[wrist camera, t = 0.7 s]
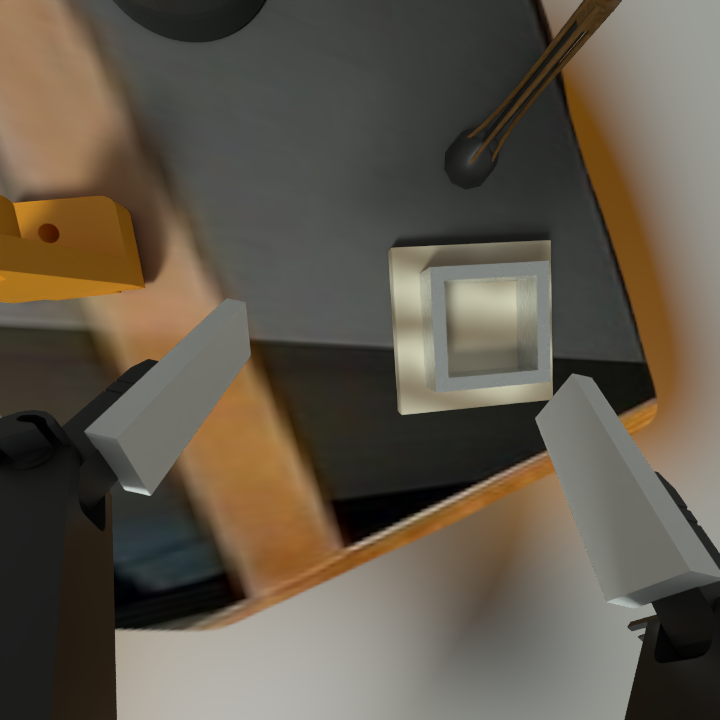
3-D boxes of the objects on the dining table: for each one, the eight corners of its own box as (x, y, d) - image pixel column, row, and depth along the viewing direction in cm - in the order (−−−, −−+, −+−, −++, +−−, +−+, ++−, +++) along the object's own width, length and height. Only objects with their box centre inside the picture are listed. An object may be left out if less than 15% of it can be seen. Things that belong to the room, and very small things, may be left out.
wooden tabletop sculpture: (439, 195, 30) (662, -80, 10) (429, 146, 29) (641, -246, 9) (495, 182, 30) (813, -106, 10) (485, 134, 30) (800, -266, 10)
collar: (419, 274, 29) (429, 267, 26) (526, 268, 30) (548, 260, 27) (425, 386, 30) (436, 392, 27) (529, 377, 31) (550, 381, 28)
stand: (388, 252, 30) (391, 247, 28) (539, 244, 31) (550, 240, 30) (398, 410, 31) (401, 414, 30) (542, 396, 33) (552, 399, 31)
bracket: (134, 207, 27) (-18, 110, 15) (150, 289, 28) (18, 256, 16) (3, 219, 26) (-269, 124, 14) (23, 303, 27) (-219, 280, 15)
